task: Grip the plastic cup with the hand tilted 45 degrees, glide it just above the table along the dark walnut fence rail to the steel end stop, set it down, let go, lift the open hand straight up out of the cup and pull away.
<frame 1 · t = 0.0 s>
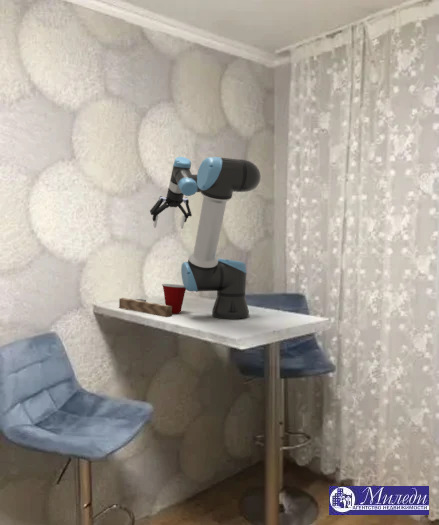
hand: (168, 226, 231), 36 cm above the bar counter, tool tilted 35°, fingers open, 13 cm apart
fence rail: (144, 311, 199), on the bar counter
plastic cup: (174, 313, 199), on the bar counter
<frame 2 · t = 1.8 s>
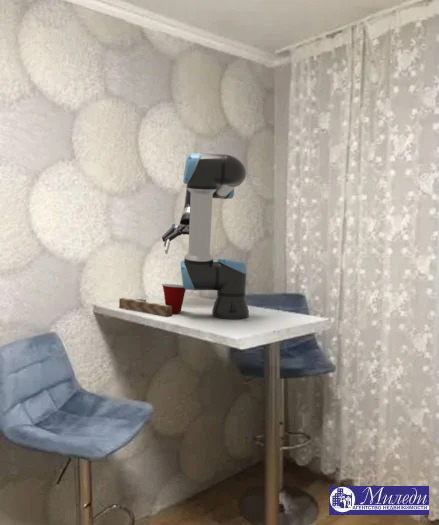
hand: (180, 252, 208), 25 cm above the bar counter, tool tilted 45°, fingers open, 13 cm apart
nothing on the bar counter moved.
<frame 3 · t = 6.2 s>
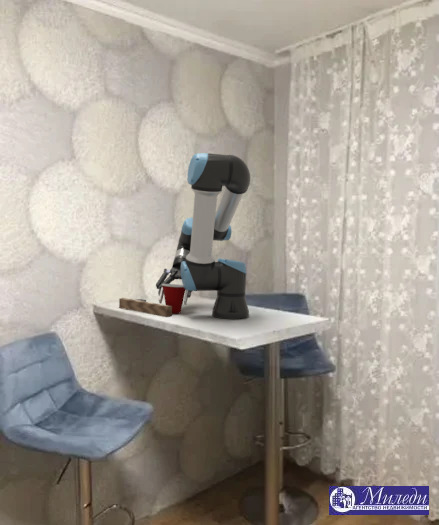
hand: (172, 302, 196), 5 cm above the bar counter, tool tilted 45°, fingers closed on plastic cup, 10 cm apart
plastic cup: (174, 312, 199), on the bar counter, touching gripper
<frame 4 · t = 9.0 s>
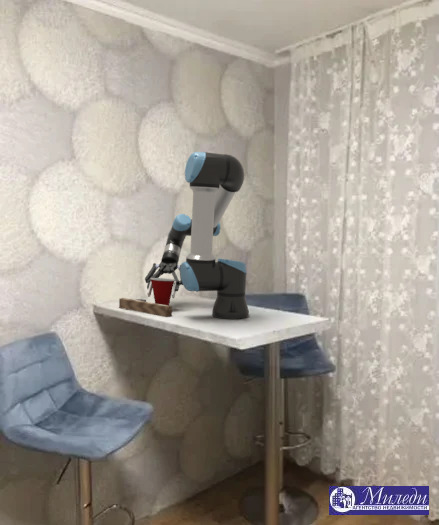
hand: (160, 295, 201), 7 cm above the bar counter, tool tilted 45°, fingers closed on plastic cup, 10 cm apart
plastic cup: (162, 306, 204), point 2 cm above the bar counter, touching gripper
when the fingers open (5 cm above the bar counter, at t = 11.9 s): plastic cup moves 3 cm, on the bar counter.
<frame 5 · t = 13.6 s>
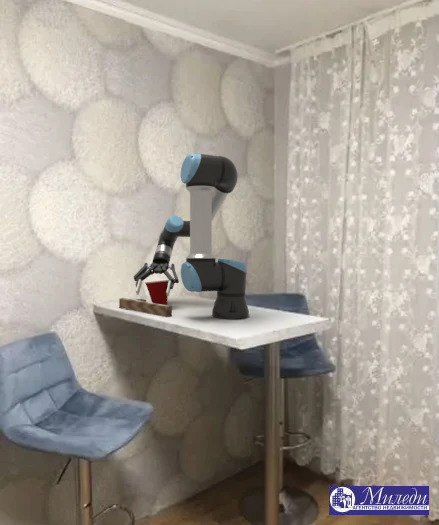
hand: (152, 293, 204), 7 cm above the bar counter, tool tilted 45°, fingers open, 13 cm apart
plastic cup: (161, 307, 207), on the bar counter, touching gripper
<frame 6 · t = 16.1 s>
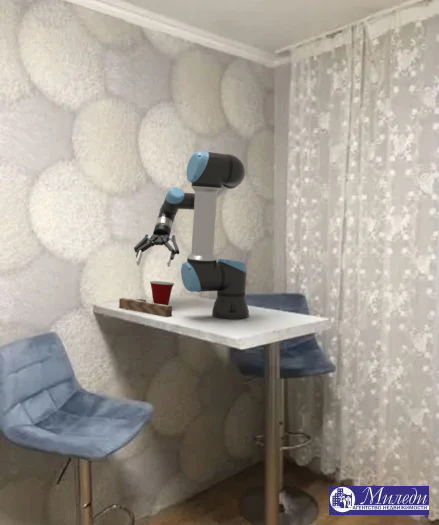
hand: (152, 264, 203), 20 cm above the bar counter, tool tilted 45°, fingers open, 13 cm apart
plastic cup: (161, 309, 207), on the bar counter
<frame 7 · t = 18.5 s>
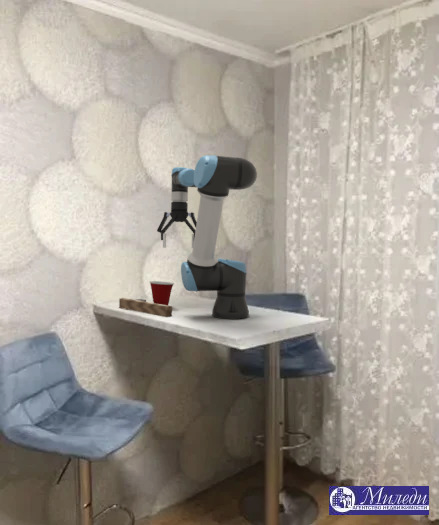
hand: (178, 248, 219), 26 cm above the bar counter, tool pointing down, fingers open, 13 cm apart
nothing on the bar counter moved.
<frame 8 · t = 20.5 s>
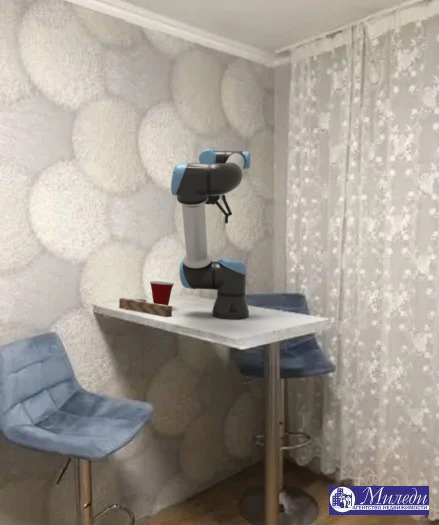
hand: (209, 230, 220), 35 cm above the bar counter, tool pointing down, fingers open, 13 cm apart
nothing on the bar counter moved.
at the end: plastic cup 3.4 cm from the target spot, on the bar counter; plastic cup tilted 0°; the gripper is holding nothing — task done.
